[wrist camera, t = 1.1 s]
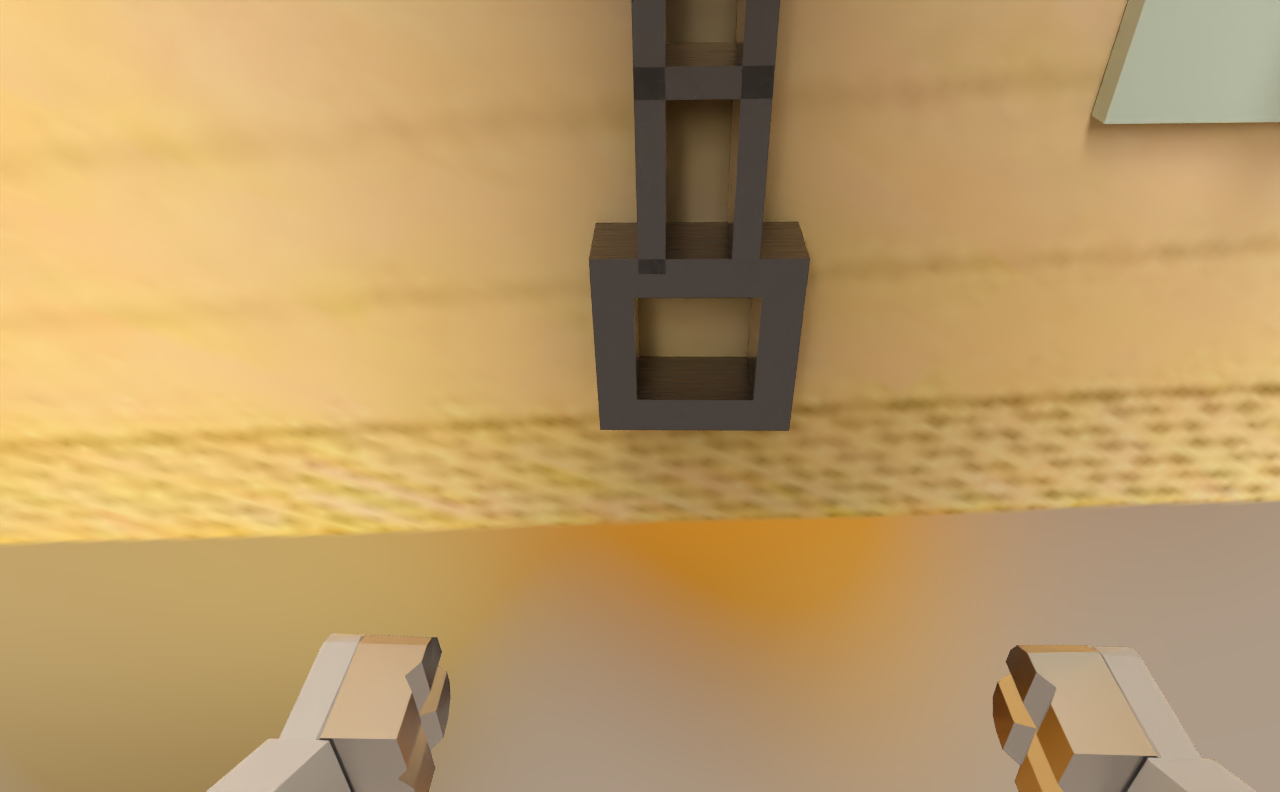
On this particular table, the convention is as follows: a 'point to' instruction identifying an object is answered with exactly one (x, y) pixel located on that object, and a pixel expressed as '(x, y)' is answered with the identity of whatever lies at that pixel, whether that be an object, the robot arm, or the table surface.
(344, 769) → the robot arm
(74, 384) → the table surface
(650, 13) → the grey hollow frame
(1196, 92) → the keeper board
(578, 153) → the table surface
